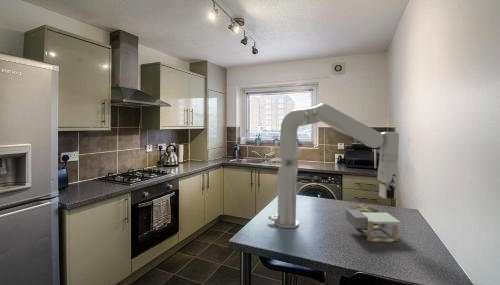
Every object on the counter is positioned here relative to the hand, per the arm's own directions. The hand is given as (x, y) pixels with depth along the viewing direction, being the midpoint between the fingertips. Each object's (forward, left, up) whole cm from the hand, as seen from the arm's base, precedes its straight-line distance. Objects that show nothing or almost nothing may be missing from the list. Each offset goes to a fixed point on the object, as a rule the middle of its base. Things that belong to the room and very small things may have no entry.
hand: (386, 196), depth 118 cm
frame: (-5, 0, -18) cm, 19 cm away
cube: (0, 0, 0) cm, 0 cm away
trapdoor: (-7, 0, -13) cm, 15 cm away
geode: (-1, +21, -19) cm, 28 cm away
